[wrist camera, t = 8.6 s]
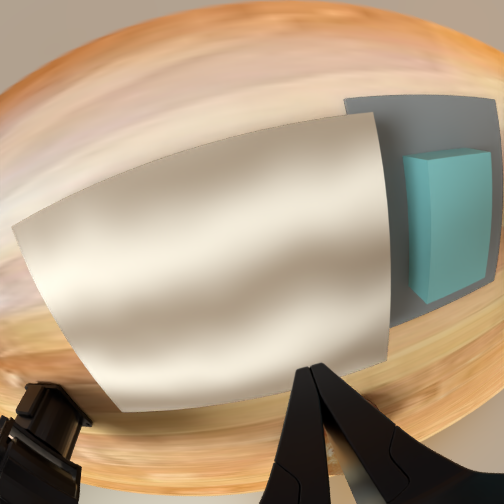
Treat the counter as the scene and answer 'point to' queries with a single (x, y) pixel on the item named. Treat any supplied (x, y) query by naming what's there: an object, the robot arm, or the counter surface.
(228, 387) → the board
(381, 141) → the mat
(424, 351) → the counter surface
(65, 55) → the counter surface
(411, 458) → the robot arm
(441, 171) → the teal rectangular block
